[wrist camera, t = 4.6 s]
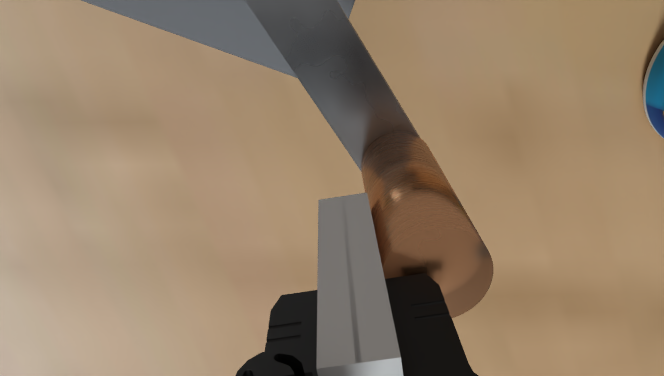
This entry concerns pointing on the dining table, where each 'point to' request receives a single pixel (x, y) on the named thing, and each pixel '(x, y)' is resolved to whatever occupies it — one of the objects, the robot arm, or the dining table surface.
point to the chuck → (382, 151)
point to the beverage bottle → (655, 91)
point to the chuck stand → (211, 25)
